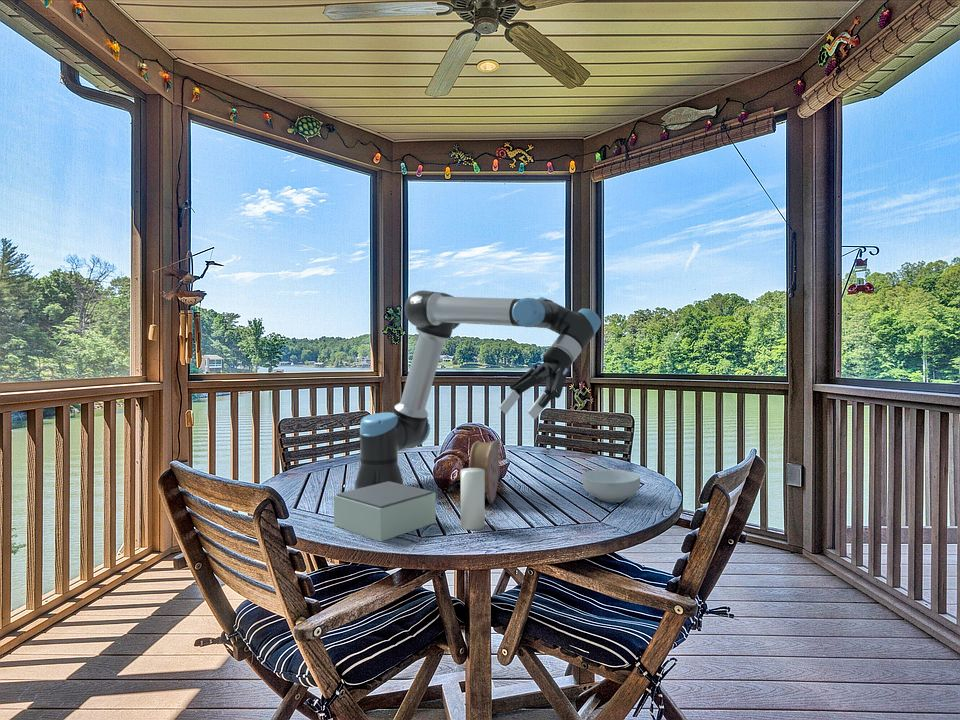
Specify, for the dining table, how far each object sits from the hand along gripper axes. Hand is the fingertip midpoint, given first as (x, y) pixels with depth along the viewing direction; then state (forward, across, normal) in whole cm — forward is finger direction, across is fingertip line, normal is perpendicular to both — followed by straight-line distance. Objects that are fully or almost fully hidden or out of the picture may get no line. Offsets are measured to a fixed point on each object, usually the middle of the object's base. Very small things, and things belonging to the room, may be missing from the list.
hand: (516, 413), depth 144 cm
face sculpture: (+18, +21, -21) cm, 35 cm away
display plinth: (+42, +12, +3) cm, 44 cm away
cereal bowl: (-4, +1, -44) cm, 44 cm away
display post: (+29, 0, -10) cm, 31 cm away
